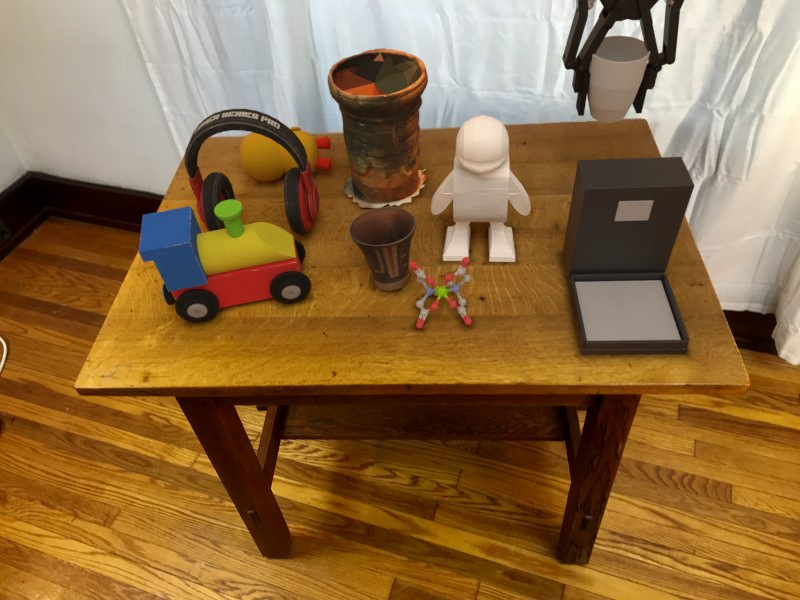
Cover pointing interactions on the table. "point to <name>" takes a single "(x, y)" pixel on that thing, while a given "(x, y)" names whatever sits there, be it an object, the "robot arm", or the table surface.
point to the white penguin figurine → (481, 190)
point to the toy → (280, 155)
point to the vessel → (381, 124)
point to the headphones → (217, 186)
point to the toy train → (221, 261)
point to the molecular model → (442, 291)
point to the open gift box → (626, 254)
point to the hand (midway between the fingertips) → (608, 109)
